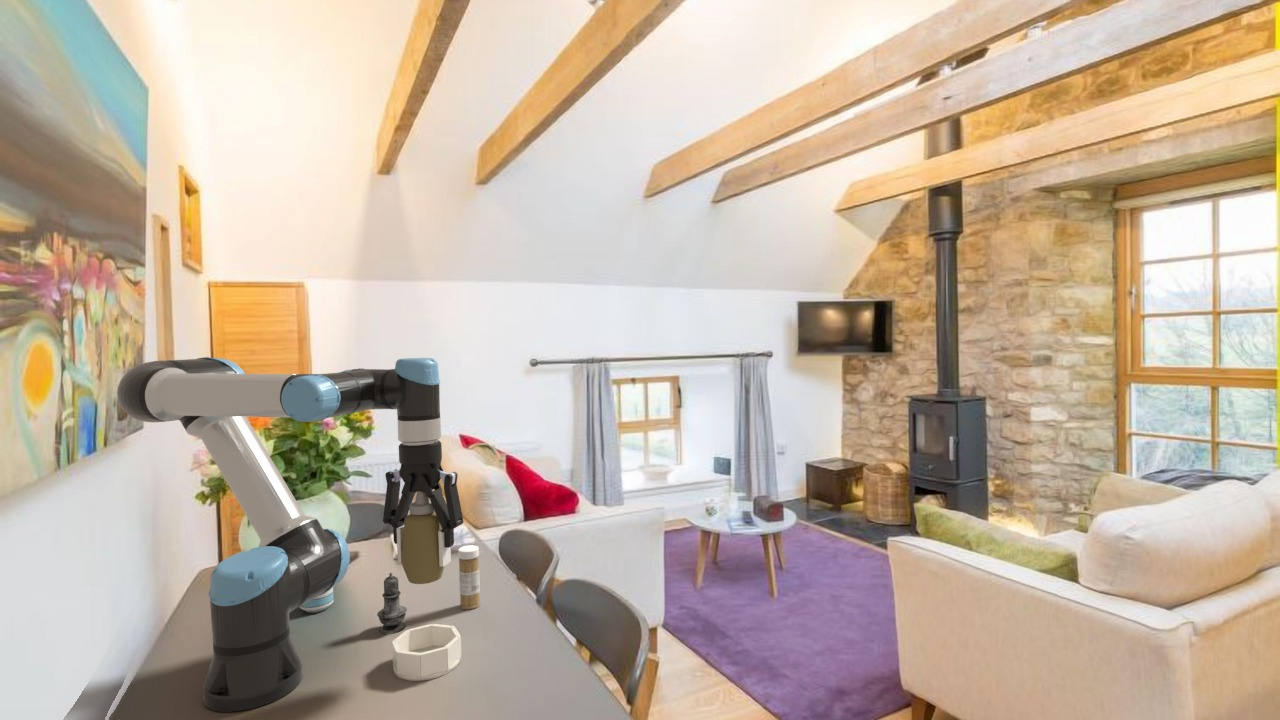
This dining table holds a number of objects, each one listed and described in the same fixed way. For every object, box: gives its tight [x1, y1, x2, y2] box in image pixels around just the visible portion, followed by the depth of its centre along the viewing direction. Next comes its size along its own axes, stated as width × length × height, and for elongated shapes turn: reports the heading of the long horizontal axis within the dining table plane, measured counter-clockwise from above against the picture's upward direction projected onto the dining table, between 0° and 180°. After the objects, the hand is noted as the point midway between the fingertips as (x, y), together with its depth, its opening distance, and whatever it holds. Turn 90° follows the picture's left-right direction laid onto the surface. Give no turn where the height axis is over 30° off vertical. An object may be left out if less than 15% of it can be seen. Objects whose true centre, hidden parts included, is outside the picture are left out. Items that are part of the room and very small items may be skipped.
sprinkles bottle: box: [457, 544, 481, 610], centre depth 147 cm, size 5×5×13 cm
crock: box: [391, 623, 463, 682], centre depth 122 cm, size 12×12×5 cm
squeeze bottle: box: [401, 491, 445, 585], centre depth 121 cm, size 8×8×18 cm
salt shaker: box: [376, 572, 408, 635], centre depth 136 cm, size 6×6×12 cm
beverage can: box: [299, 587, 334, 614], centre depth 147 cm, size 7×7×12 cm
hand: (424, 562), depth 121 cm, fingers closed on squeeze bottle, 8 cm apart
